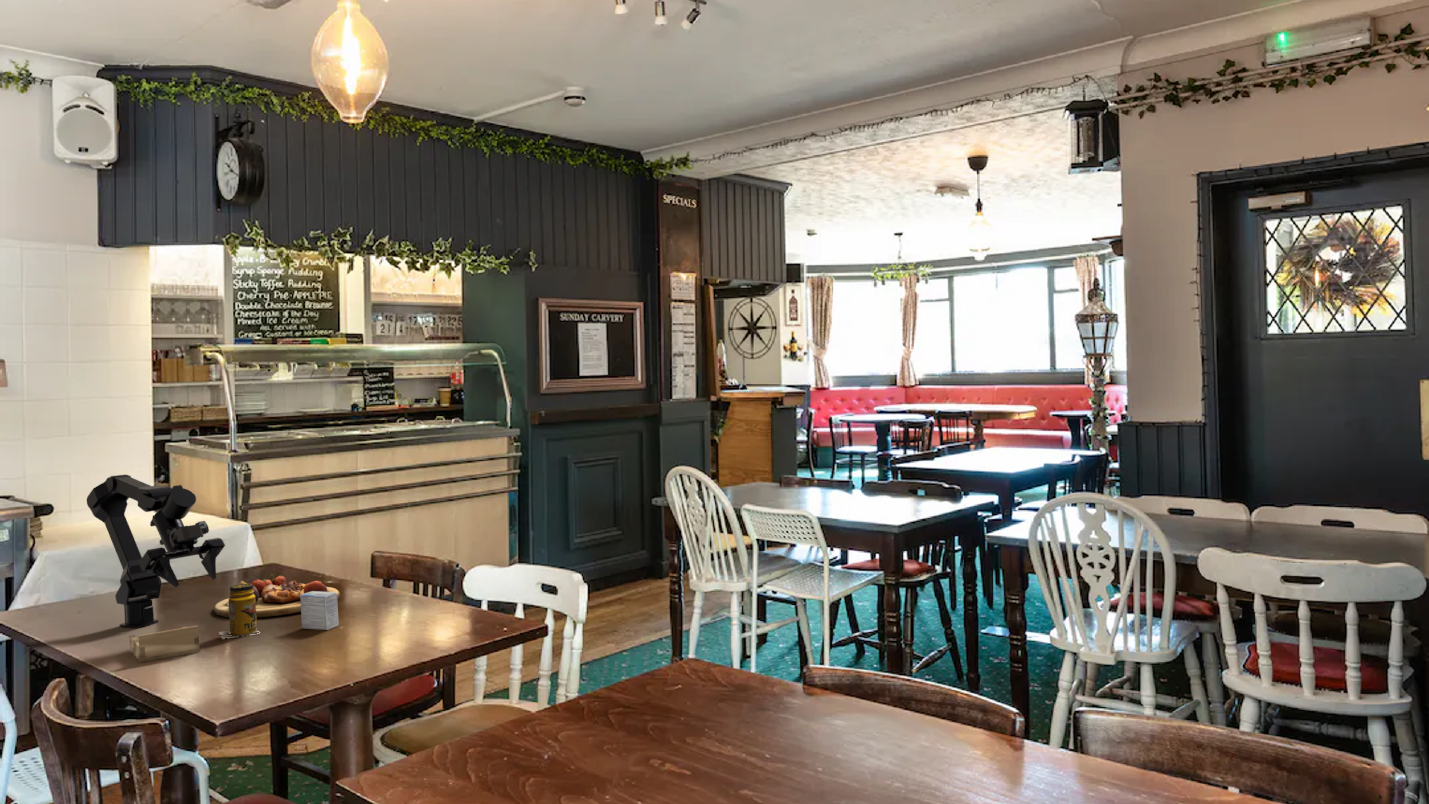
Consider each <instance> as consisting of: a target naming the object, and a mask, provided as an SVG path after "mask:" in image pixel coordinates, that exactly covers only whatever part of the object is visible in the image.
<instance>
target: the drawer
mask: <svg viewBox="0 0 1429 804" xmlns="http://www.w3.org/2000/svg"><path fill="white" fill-rule="evenodd" d="M199 631H200V630H199V625H191V626H182V627H180V628H174V629H170V630H169V629H168V630H162V631H158V632H156V631H155V632H150V633H145V634H139V635H138V637H137V636H135V635H129V637H128V638H129V650H130V653H133V654H132V655H133V656H134V657H135V658H136V660H137V661H138V662H139V664H142V663H147V662H146V661H148V662H152V661H157V660H163V658H164V659H168V658H174V657H179V656H184V655H189V654H190V655H191V654H195V652H196V653H200V651H201V650H200V633H199Z"/></svg>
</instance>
